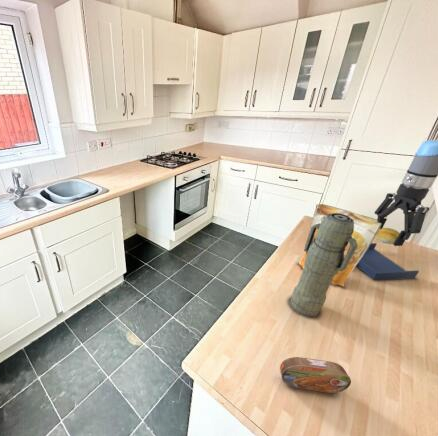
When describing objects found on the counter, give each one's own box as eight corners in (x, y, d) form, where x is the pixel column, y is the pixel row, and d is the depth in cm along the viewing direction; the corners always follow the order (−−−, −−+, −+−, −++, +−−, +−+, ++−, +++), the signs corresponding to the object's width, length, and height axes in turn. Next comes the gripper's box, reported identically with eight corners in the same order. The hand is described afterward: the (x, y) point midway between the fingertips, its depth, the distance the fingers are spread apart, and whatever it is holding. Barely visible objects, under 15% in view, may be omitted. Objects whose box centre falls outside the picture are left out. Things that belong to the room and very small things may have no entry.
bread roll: (370, 239, 97) (374, 230, 95) (376, 231, 102) (380, 223, 100) (397, 248, 92) (403, 239, 90) (403, 239, 96) (408, 231, 95)
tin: (278, 384, 62) (286, 365, 58) (275, 372, 64) (282, 353, 60) (344, 396, 59) (358, 376, 55) (338, 382, 62) (350, 363, 58)
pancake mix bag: (300, 258, 106) (321, 200, 92) (352, 284, 92) (385, 219, 78) (292, 264, 103) (312, 205, 89) (344, 291, 89) (377, 226, 75)
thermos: (315, 325, 77) (359, 230, 60) (280, 300, 86) (310, 213, 69) (329, 312, 81) (374, 221, 64) (294, 290, 90) (325, 205, 73)
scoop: (372, 249, 111) (375, 243, 109) (414, 278, 94) (419, 271, 92) (317, 251, 110) (320, 245, 109) (350, 281, 93) (353, 274, 92)
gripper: (378, 176, 96) (356, 225, 106) (437, 198, 77) (403, 255, 87) (397, 175, 96) (372, 224, 107) (460, 197, 77) (423, 254, 88)
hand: (386, 238), depth 97 cm, fingers closed on bread roll, 9 cm apart
